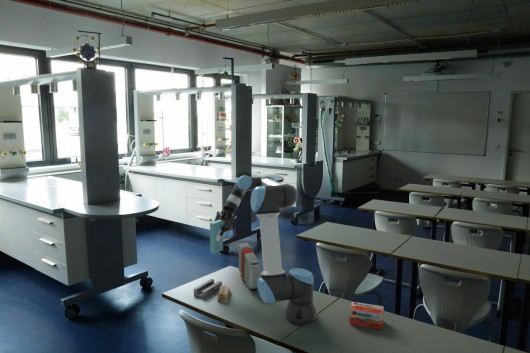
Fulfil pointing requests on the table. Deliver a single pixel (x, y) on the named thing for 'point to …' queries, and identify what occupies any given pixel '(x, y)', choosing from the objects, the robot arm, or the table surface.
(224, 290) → the block
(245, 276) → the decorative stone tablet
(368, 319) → the medicine box
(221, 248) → the teal board
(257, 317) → the table surface
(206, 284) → the board rack
